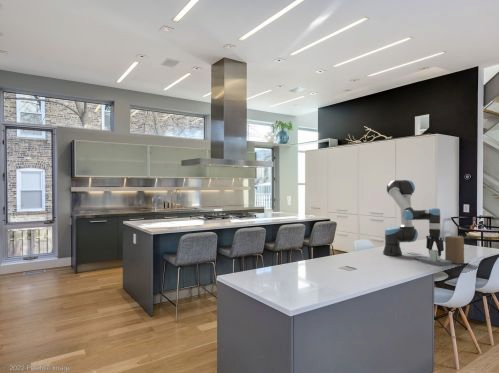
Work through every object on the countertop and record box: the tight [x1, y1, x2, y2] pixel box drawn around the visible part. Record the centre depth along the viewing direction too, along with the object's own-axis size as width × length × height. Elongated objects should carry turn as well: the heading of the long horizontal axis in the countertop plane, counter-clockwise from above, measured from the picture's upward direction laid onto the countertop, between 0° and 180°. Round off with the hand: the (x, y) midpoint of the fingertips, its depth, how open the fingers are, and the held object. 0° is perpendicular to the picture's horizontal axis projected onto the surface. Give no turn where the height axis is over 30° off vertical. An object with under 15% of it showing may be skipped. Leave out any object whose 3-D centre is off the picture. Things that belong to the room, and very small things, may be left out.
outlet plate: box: [417, 256, 453, 267], centre depth 262 cm, size 18×14×2 cm
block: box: [444, 235, 465, 265], centre depth 263 cm, size 10×10×20 cm
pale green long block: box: [430, 249, 440, 261], centre depth 259 cm, size 4×4×10 cm
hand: (434, 259), depth 259 cm, fingers open, 6 cm apart
